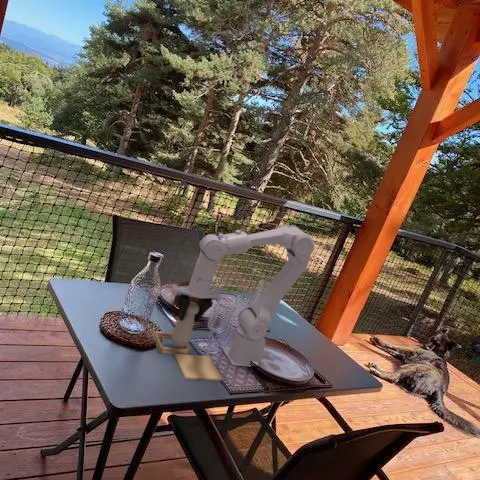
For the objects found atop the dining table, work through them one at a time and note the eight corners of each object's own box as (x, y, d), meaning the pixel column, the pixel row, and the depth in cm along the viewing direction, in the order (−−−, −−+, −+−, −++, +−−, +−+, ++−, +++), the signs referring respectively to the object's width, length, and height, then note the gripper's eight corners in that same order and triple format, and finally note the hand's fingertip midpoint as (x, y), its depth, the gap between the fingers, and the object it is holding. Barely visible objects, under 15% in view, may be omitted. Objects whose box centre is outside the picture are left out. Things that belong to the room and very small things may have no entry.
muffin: (164, 301, 162) (172, 276, 160) (188, 301, 170) (196, 276, 168) (182, 318, 154) (191, 292, 152) (207, 317, 162) (216, 291, 160)
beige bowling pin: (184, 351, 129) (199, 311, 126) (166, 342, 130) (181, 303, 127) (190, 342, 135) (205, 304, 132) (172, 334, 135) (187, 296, 132)
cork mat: (208, 358, 135) (209, 356, 135) (222, 380, 126) (222, 378, 125) (173, 355, 130) (174, 353, 129) (185, 379, 120) (185, 377, 120)
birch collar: (180, 338, 141) (181, 333, 140) (189, 355, 133) (190, 350, 132) (151, 335, 136) (153, 331, 136) (159, 352, 128) (160, 348, 128)
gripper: (220, 274, 134) (206, 315, 137) (174, 267, 127) (160, 310, 130) (229, 285, 128) (214, 327, 131) (181, 277, 121) (167, 322, 124)
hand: (188, 319), depth 130 cm, fingers closed on beige bowling pin, 4 cm apart
